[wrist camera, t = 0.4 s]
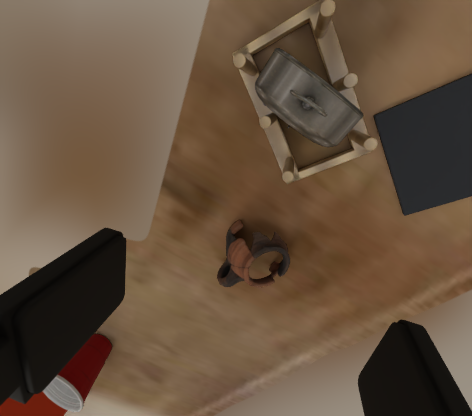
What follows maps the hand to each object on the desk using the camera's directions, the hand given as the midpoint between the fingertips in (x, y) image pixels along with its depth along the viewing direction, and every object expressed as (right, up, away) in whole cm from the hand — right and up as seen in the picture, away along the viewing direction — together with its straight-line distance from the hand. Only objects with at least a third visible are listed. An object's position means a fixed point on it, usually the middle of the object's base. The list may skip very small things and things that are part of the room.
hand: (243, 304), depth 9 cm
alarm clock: (+8, +17, +24) cm, 30 cm away
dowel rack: (+8, +17, +24) cm, 30 cm away
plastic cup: (-32, -28, +52) cm, 67 cm away
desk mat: (+27, +12, +21) cm, 37 cm away
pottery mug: (+2, -3, +33) cm, 34 cm away
